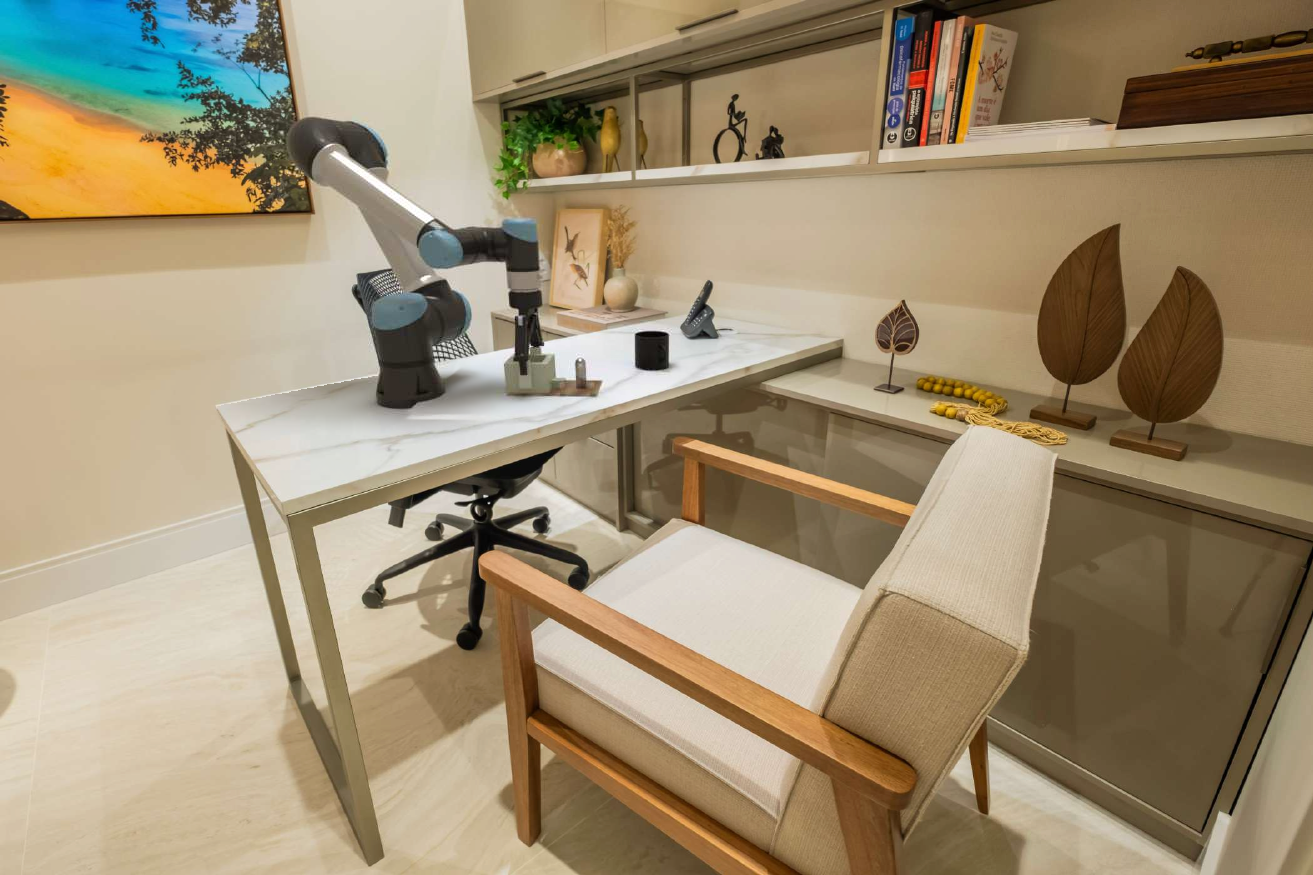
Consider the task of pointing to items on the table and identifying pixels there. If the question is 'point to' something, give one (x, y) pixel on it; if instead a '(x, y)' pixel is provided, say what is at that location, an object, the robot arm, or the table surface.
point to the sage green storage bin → (533, 374)
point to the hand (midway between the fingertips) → (531, 380)
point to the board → (569, 390)
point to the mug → (651, 350)
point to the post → (580, 373)
